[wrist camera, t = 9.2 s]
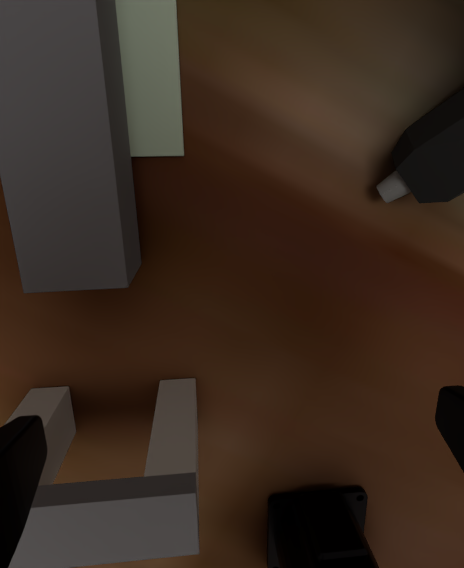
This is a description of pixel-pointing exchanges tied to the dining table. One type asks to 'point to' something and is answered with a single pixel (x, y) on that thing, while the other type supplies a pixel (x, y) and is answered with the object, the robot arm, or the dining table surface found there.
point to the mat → (151, 76)
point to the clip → (115, 490)
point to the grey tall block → (66, 145)
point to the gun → (430, 156)
